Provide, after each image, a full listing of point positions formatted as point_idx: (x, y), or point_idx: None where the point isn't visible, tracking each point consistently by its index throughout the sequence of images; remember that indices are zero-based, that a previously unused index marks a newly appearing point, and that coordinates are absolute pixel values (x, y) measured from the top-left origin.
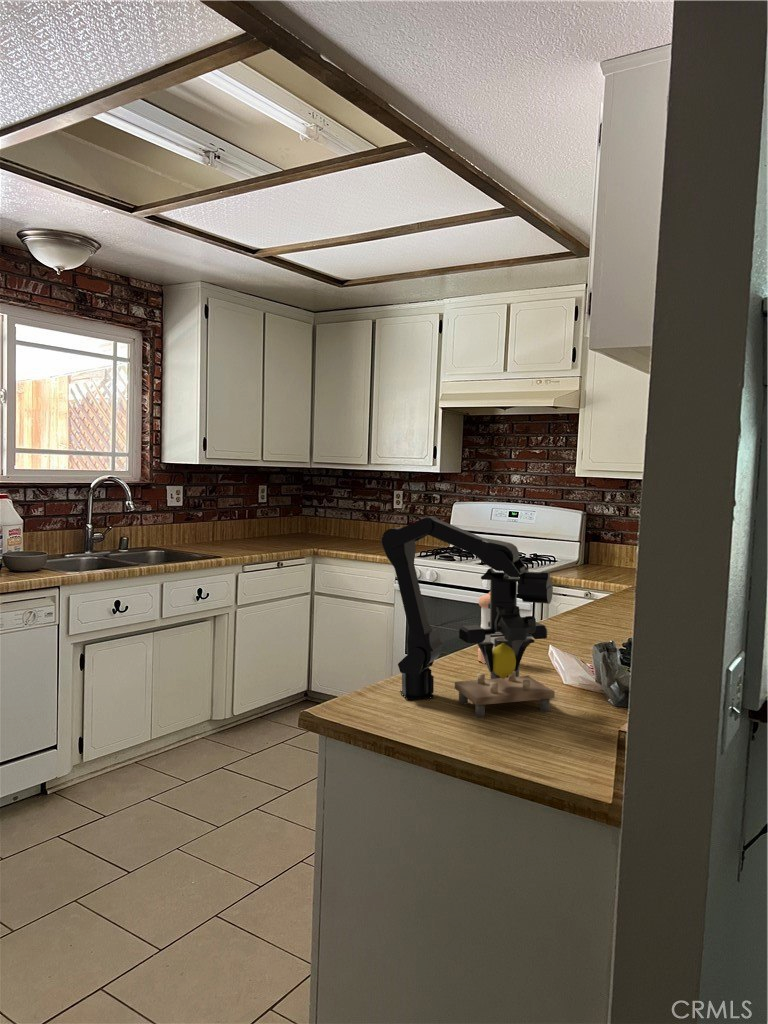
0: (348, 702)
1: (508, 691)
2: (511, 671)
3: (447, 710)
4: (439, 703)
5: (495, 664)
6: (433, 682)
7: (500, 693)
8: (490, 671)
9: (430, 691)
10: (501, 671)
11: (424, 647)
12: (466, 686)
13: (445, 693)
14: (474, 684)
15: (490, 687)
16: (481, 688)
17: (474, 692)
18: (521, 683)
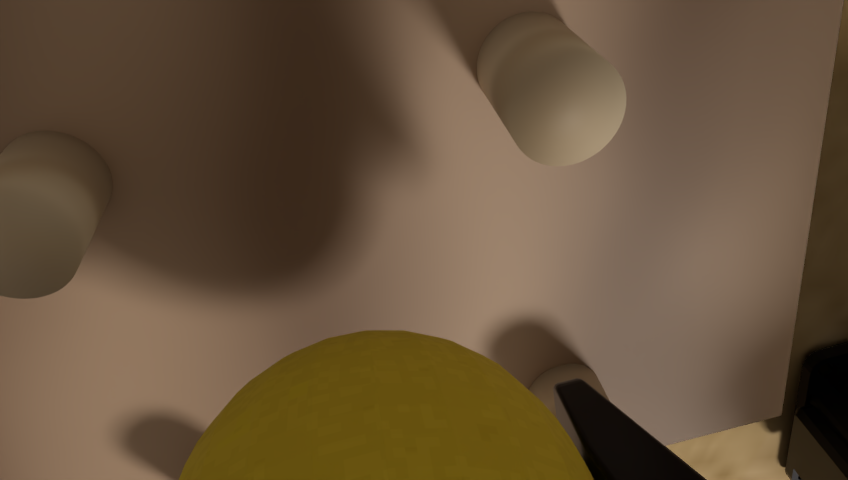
0: None
1: (323, 105)
2: (256, 378)
3: (838, 97)
4: (813, 261)
5: (570, 456)
6: (843, 472)
7: (455, 9)
8: (585, 390)
9: (833, 407)
10: (442, 345)
11: None
12: (748, 290)
13: (683, 445)
14: (641, 354)
15: (512, 263)
16: (623, 228)
17: (768, 72)
18: (125, 405)
